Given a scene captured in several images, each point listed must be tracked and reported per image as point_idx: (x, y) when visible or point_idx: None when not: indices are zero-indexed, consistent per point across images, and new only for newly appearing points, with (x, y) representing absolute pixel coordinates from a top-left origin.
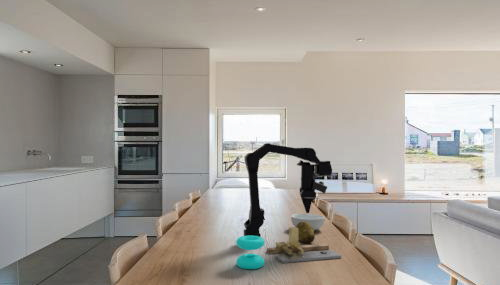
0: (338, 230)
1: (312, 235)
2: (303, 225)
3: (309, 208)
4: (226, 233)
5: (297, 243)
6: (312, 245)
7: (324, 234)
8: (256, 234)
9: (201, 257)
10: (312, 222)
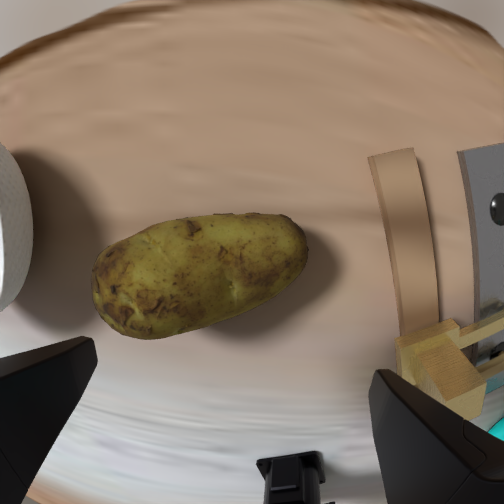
0: (11, 68)
1: (297, 235)
2: (187, 308)
3: (432, 406)
4: (146, 497)
5: (449, 340)
6: (408, 247)
7: (65, 129)
8: (312, 493)
9: None
10: (12, 205)
